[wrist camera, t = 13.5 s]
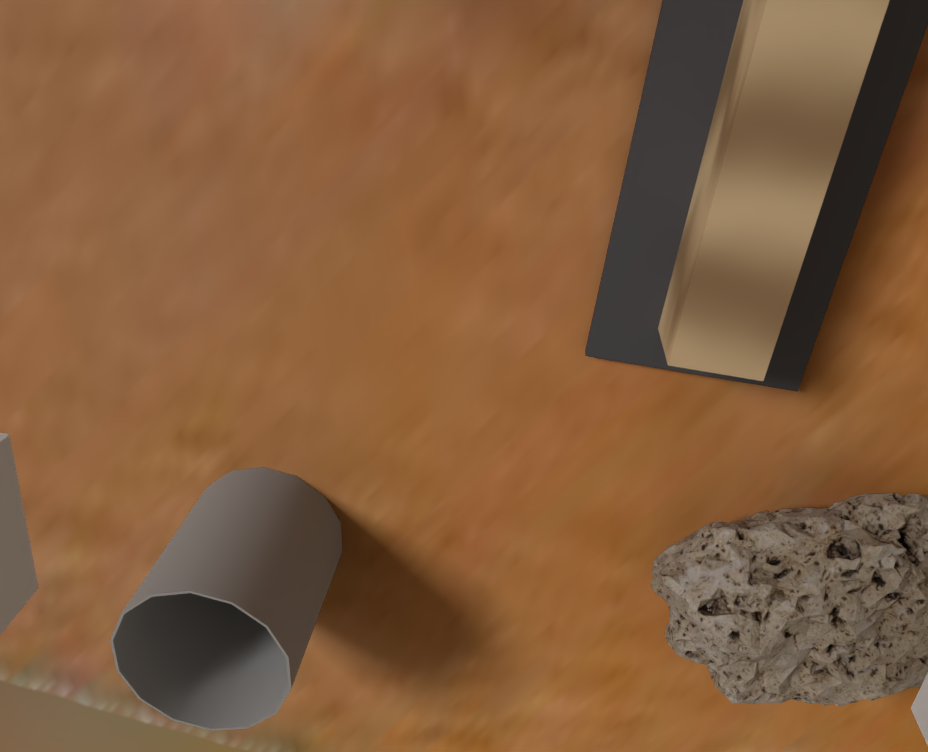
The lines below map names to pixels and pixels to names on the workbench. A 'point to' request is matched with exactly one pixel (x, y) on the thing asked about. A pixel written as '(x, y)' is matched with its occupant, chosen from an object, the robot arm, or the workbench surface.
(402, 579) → the workbench surface
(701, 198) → the rail
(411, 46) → the workbench surface
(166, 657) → the cup
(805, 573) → the pumice stone
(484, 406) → the workbench surface
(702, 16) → the mat
